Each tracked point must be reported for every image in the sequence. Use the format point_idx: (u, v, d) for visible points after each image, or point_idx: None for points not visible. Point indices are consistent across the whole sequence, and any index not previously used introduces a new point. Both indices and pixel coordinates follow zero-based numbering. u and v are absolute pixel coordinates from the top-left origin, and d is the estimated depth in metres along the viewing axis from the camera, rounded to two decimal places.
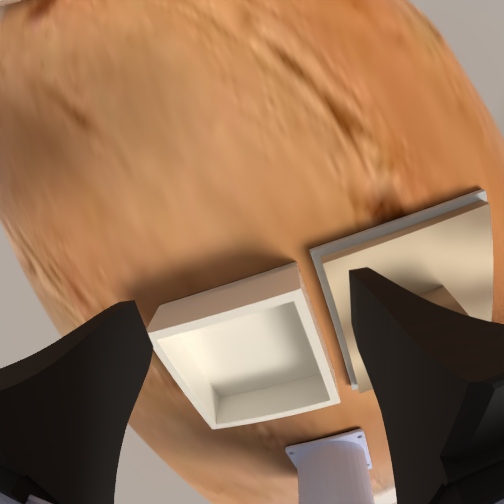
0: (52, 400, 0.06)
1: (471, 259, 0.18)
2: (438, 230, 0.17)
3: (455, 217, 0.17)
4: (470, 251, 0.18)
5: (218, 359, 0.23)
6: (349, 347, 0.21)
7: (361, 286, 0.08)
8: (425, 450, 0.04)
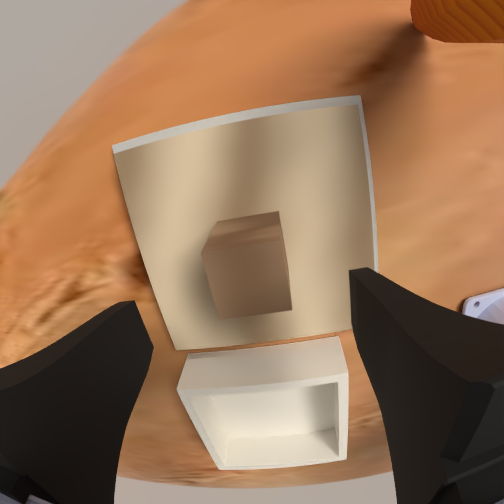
0: (52, 400, 0.06)
1: (185, 176, 0.15)
2: (143, 232, 0.16)
3: (129, 208, 0.16)
4: (173, 179, 0.15)
5: (283, 423, 0.22)
6: (286, 337, 0.18)
7: (361, 286, 0.08)
8: (425, 450, 0.04)
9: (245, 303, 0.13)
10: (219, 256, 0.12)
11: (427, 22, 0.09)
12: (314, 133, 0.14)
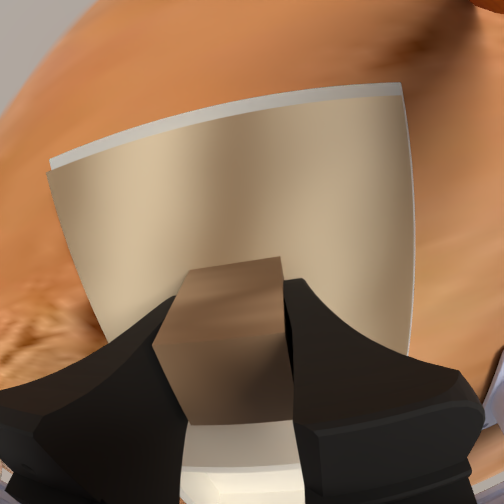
0: (123, 407, 0.05)
1: (139, 203, 0.10)
2: (91, 281, 0.11)
3: (70, 248, 0.11)
4: (123, 209, 0.10)
5: (282, 481, 0.17)
6: None
7: (284, 298, 0.08)
8: None
9: (227, 411, 0.08)
10: (182, 352, 0.07)
11: None
12: (336, 137, 0.09)
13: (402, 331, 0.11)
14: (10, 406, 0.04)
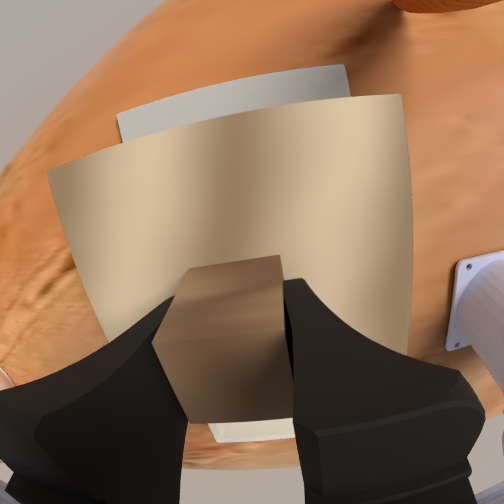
0: (123, 407, 0.05)
1: (140, 202, 0.10)
2: (91, 279, 0.11)
3: (70, 246, 0.11)
4: (123, 207, 0.10)
5: None
6: None
7: (284, 298, 0.08)
8: None
9: (227, 408, 0.08)
10: (182, 350, 0.07)
11: None
12: (336, 136, 0.09)
13: (402, 330, 0.11)
14: (10, 406, 0.04)
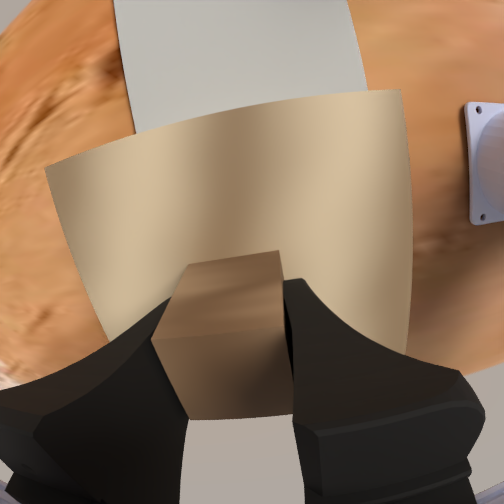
0: (123, 407, 0.05)
1: (138, 198, 0.10)
2: (90, 276, 0.11)
3: (69, 243, 0.11)
4: (122, 203, 0.10)
5: None
6: None
7: (284, 298, 0.08)
8: None
9: (227, 405, 0.08)
10: (181, 347, 0.07)
11: None
12: (335, 131, 0.09)
13: (401, 325, 0.11)
14: (10, 406, 0.04)
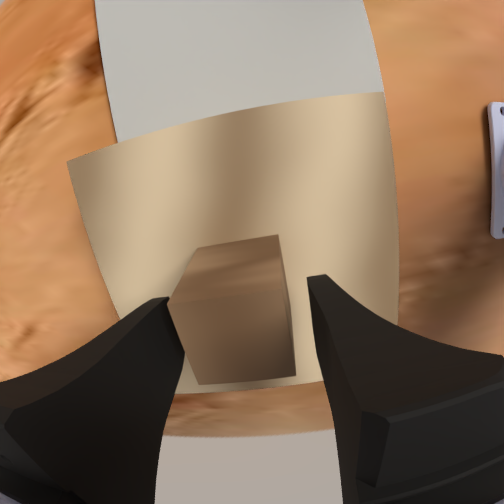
0: (94, 405, 0.05)
1: (153, 188, 0.11)
2: (106, 260, 0.12)
3: (88, 230, 0.12)
4: (138, 193, 0.11)
5: None
6: (287, 384, 0.14)
7: (312, 294, 0.08)
8: (349, 468, 0.04)
9: (232, 368, 0.09)
10: (193, 310, 0.08)
11: None
12: (326, 129, 0.10)
13: (391, 306, 0.12)
14: None
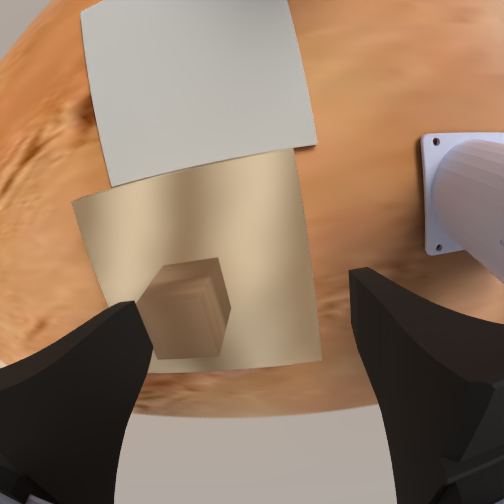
0: (52, 400, 0.06)
1: (132, 224, 0.16)
2: (101, 272, 0.17)
3: (88, 251, 0.17)
4: (122, 227, 0.16)
5: None
6: (236, 368, 0.19)
7: (361, 286, 0.08)
8: (425, 450, 0.04)
9: (177, 348, 0.14)
10: (150, 309, 0.13)
11: None
12: (248, 182, 0.15)
13: (311, 311, 0.17)
14: None
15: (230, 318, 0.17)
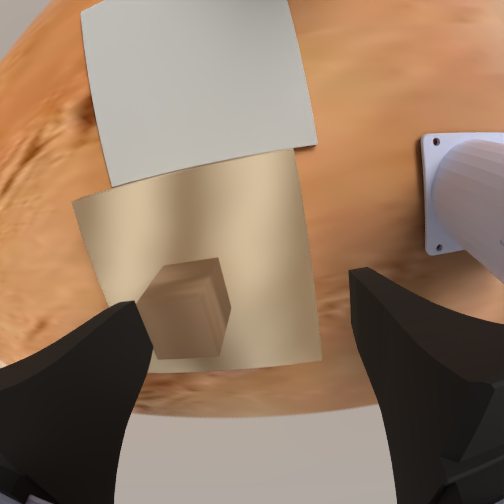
0: (52, 400, 0.06)
1: (132, 224, 0.16)
2: (102, 272, 0.17)
3: (88, 251, 0.17)
4: (122, 227, 0.16)
5: None
6: (236, 368, 0.19)
7: (361, 286, 0.08)
8: (425, 450, 0.04)
9: (177, 348, 0.14)
10: (150, 309, 0.13)
11: None
12: (248, 182, 0.15)
13: (311, 311, 0.17)
14: None
15: (230, 318, 0.18)
